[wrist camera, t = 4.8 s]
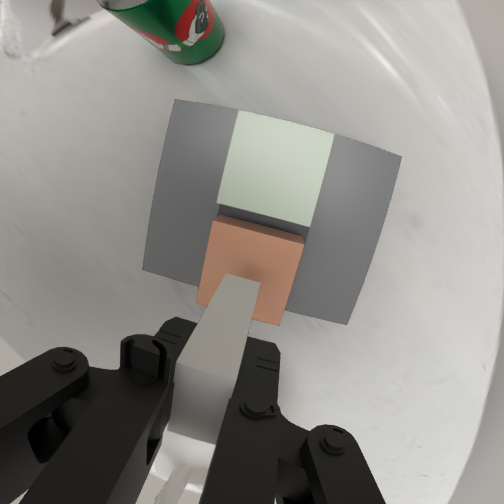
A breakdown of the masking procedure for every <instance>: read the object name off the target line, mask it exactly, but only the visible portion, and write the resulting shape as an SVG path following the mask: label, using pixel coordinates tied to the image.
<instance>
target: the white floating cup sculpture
mask: <svg viewBox="0 0 504 504" xmlns="http://www.w3.org/2000/svg"><path fill="white" fill-rule="evenodd" d="M167 427H168V423H167V426H166V428H165V430H164V432H163V438H162V444H161V447H160V449H159V451H158V453H157V456H156V458H155V460H154V462H153V465H152V467H151V469H150V471H149V472H150V473H152V474H153V475H155V476H157V477H159V478H161V479H162V480H164V481H166V483H165V485H164V486H163V488H162V489H161V491H160V492H159V493H158V495H157V496H156V498H155V503H154V504H177V503H178V500H179V498H180V496H181V495H182V493H183V491H184V490H188V491H193V492H197V493H201V494H202V491H203V487H204V484H205V480H206V477H207V473H208V469H209V466H210V462H211V459H212V456H213V452H214V449H215V446H216V445H213V444H209V443H206V442H202V441H199V440H195V439H192V438H189V437H186V436H183V435H179V434H176V433H173V432H170V431H167Z"/></svg>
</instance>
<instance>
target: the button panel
mask: <svg viewBox="0 0 504 504" xmlns="http://www.w3.org/2000/svg"><path fill="white" fill-rule="evenodd" d="M238 111H239V110H237V109H232V108H226V107H221V106H215V105H209V104H203V103H197V102H191V101H184V100H177V99H175V101H174V104H173V108H172V112H171V116H170V120H169V125H168V129H167V133H166V137H165V142H164V146H163V151H162V155H161V160H160V165H159V170H158V175H157V180H156V185H155V191H154V196H153V202H152V208H151V214H150V220H149V226H148V233H147V239H146V246H145V254H144V261H143V269H142V270H145V271H148V272H151V273H155V274H158V275H161V276H164V277H168V278H171V279H174V280H178V281H181V282H184V283H188V284H191V285H195V286H198V287H199V286H200V281H201V276H202V271H203V266H204V261H205V256H206V251H207V246H208V241H209V237H210V232H211V227H212V223H213V220H214V219H216V218H217V217H218V216H220V215H223V216H227V217H231V218H235V219H239V220H243V221H246V222H250V223H254V224H258V225H262V226H266V227H269V228H273V229H277V230H281V231H284V232H288V233H292V234H295V235H299V236H303V240H304V248H303V251H302V255H301V258H300V261H299V265H298V268H297V271H296V275H295V278H294V281H293V284H292V288H291V291H290V294H289V297H288V300H287V304H286V307H285V310H286V311H290V312H294V313H298V314H302V315H306V316H310V317H315V318H319V319H323V320H327V321H331V322H335V323H340V324H344V325H347V324H348V322H349V319H350V317H351V314H352V312H353V309H354V307H355V304H356V301H357V299H358V296H359V294H360V291H361V288H362V285H363V283H364V280H365V277H366V274H367V272H368V269H369V266H370V263H371V260H372V257H373V254H374V251H375V248H376V245H377V242H378V239H379V236H380V233H381V230H382V227H383V224H384V220H385V217H386V214H387V210H388V207H389V204H390V200H391V197H392V193H393V189H394V186H395V182H396V178H397V174H398V171H399V167H400V163H401V159H402V157H401V156H399V155H396V154H393V153H391V152H388V151H385V150H382V149H380V148H377V147H374V146H371V145H368V144H365V143H362V142H359V141H356V140H353V139H350V138H347V137H343V136H340V135H337V134H335V135H334V139H333V143H332V147H331V151H330V155H329V159H328V163H327V166H326V170H325V174H324V178H323V181H322V185H321V189H320V193H319V196H318V200H317V203H316V207H315V211H314V214H313V218H312V221H311V225H310V227H307V226H304V225H300V224H296V223H293V222H289V221H285V220H282V219H278V218H274V217H270V216H267V215H263V214H259V213H255V212H251V211H247V210H243V209H239V208H236V207H232V206H228V205H224V204H220V203H217V198H218V194H219V189H220V185H221V181H222V176H223V172H224V168H225V164H226V159H227V155H228V151H229V147H230V143H231V139H232V135H233V131H234V127H235V123H236V119H237V115H238ZM241 111H242V110H241ZM246 112H247V111H246ZM255 114H256V113H255ZM260 115H261V114H260ZM273 118H274V117H273ZM277 119H278V118H277ZM297 124H298V123H297ZM301 125H302V124H301ZM312 128H313V127H312ZM319 130H320V129H319ZM326 132H327V131H326ZM333 134H334V133H333Z"/></svg>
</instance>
